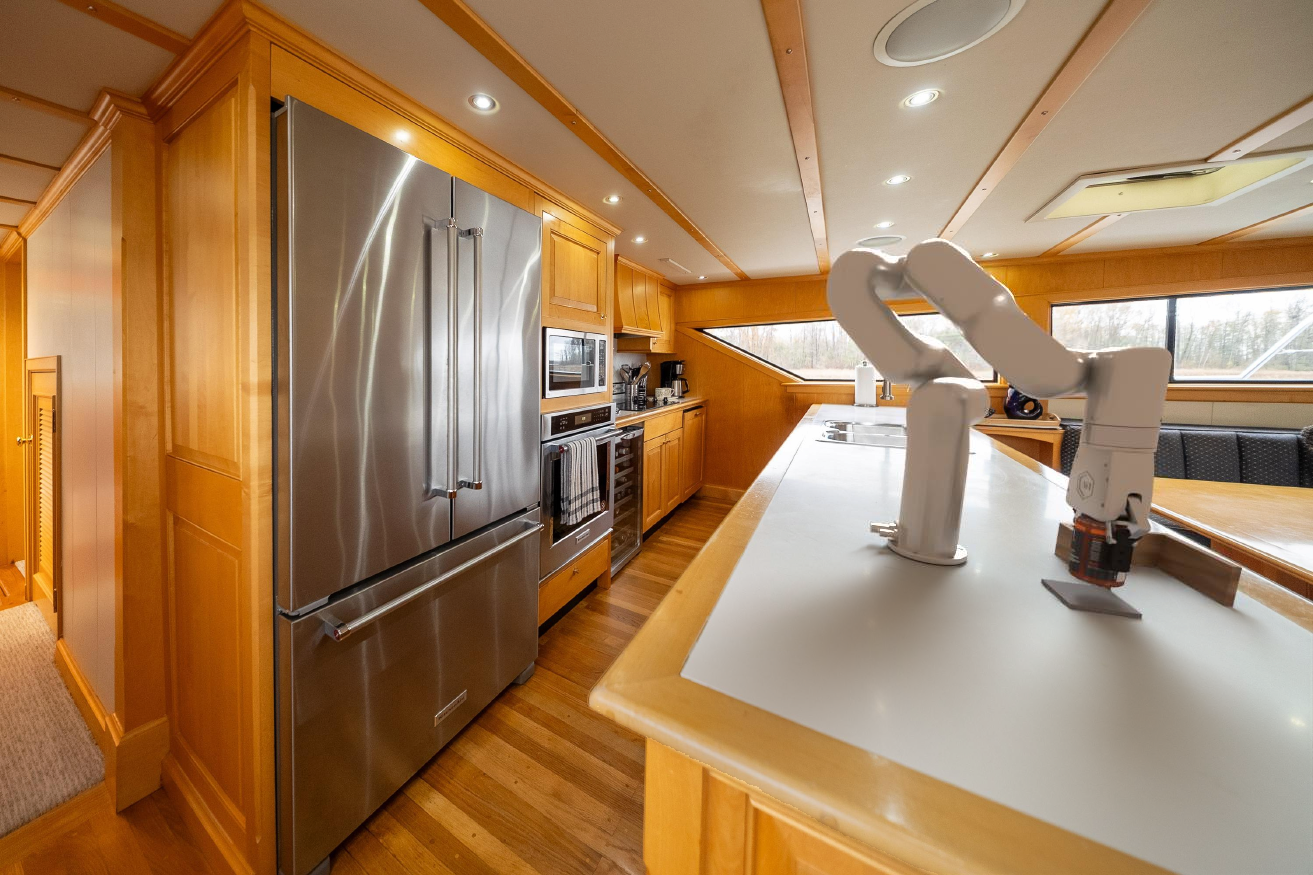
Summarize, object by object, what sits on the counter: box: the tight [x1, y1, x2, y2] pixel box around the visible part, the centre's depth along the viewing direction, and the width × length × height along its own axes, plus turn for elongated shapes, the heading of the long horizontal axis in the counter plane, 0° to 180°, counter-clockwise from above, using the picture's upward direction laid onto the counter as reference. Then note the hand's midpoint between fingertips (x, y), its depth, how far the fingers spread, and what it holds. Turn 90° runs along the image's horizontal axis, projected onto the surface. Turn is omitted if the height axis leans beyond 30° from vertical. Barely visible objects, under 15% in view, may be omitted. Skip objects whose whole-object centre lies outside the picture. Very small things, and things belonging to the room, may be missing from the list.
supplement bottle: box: [1068, 514, 1127, 589], centre depth 64 cm, size 6×6×11 cm
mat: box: [1040, 578, 1143, 619], centre depth 66 cm, size 8×8×1 cm
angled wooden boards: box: [1054, 522, 1243, 608], centre depth 73 cm, size 15×14×6 cm
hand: (1098, 559), depth 65 cm, fingers closed on supplement bottle, 5 cm apart
